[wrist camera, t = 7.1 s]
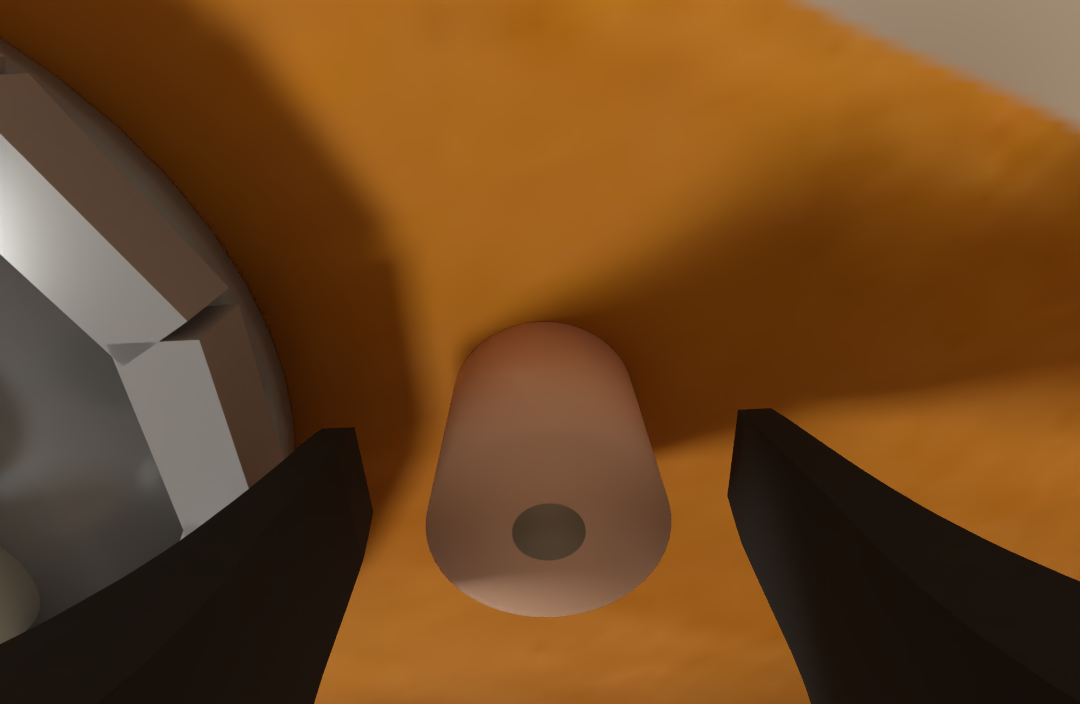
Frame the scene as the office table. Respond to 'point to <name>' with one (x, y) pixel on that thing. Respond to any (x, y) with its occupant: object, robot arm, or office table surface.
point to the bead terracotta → (546, 476)
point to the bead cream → (16, 597)
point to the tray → (115, 351)
